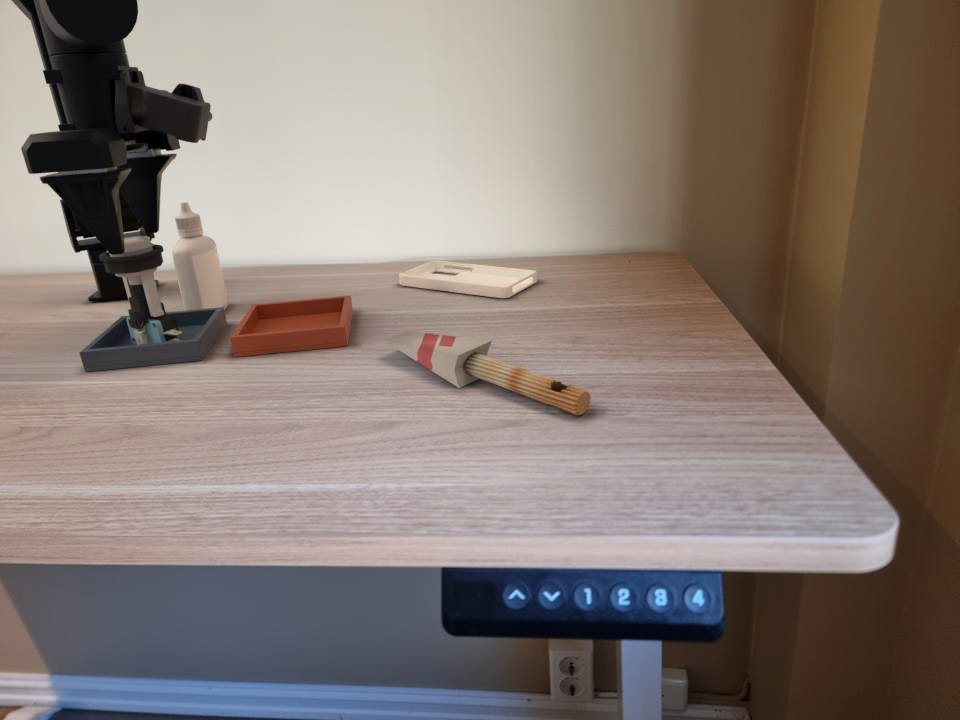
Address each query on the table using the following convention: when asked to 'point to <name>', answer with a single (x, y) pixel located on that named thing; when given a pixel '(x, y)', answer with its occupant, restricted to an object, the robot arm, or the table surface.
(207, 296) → the eye dropper bottle
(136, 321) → the push button
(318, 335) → the terracotta tray
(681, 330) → the table surface
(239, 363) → the table surface
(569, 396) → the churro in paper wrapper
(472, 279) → the phone case
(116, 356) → the slate tray
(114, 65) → the robot arm
